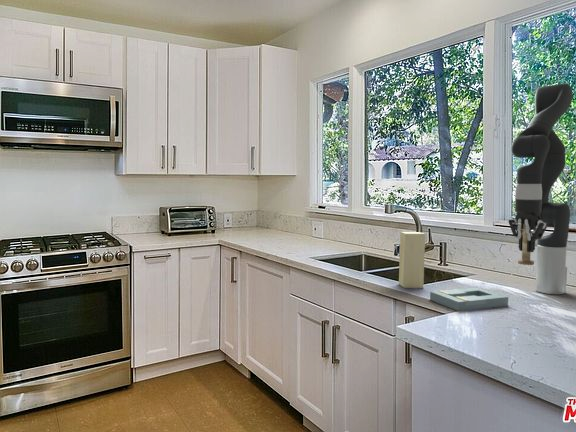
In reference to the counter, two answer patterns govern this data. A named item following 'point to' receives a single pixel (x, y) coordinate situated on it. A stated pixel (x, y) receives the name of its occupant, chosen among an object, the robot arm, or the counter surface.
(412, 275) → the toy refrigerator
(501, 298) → the keyhole board
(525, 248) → the boss peg
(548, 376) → the counter surface
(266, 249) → the counter surface
